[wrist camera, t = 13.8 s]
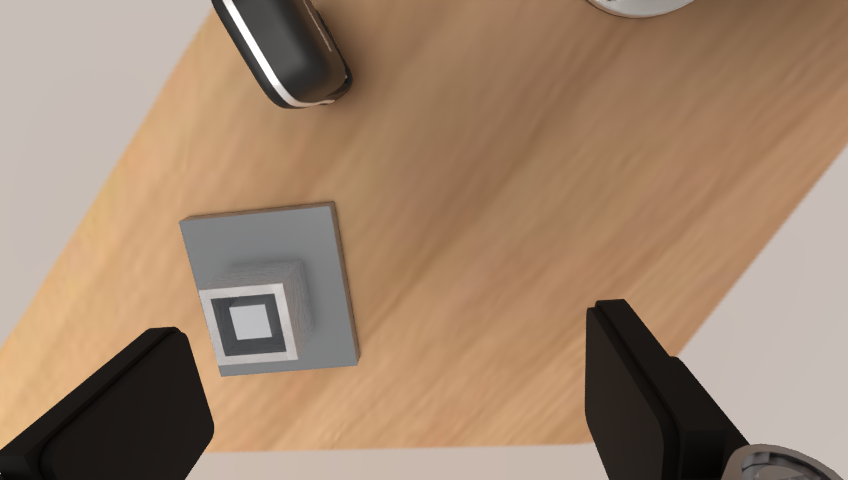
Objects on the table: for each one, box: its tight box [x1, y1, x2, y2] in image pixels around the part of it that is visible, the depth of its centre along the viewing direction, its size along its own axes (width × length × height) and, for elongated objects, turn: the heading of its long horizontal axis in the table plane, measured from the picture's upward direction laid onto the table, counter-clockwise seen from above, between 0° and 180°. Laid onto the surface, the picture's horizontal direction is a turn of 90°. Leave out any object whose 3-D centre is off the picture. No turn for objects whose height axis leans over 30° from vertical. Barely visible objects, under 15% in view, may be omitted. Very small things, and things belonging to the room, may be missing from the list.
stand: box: [179, 202, 360, 377], centre depth 36 cm, size 12×14×6 cm
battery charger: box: [211, 0, 352, 109], centre depth 28 cm, size 7×4×11 cm, turn 28°
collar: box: [198, 259, 315, 366], centre depth 35 cm, size 6×6×5 cm
